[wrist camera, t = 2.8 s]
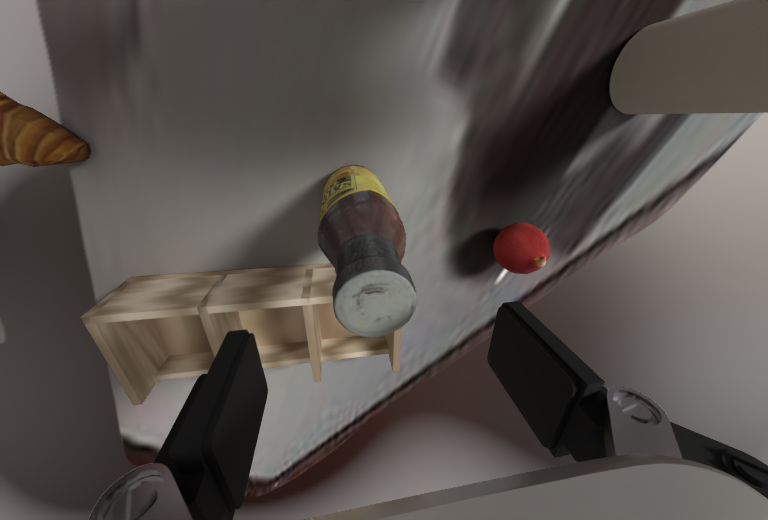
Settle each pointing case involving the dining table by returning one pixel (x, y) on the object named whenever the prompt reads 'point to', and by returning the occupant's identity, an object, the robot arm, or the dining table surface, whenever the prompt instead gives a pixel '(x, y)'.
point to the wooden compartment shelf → (224, 323)
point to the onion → (521, 248)
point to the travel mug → (697, 63)
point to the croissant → (36, 138)
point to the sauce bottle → (365, 254)
